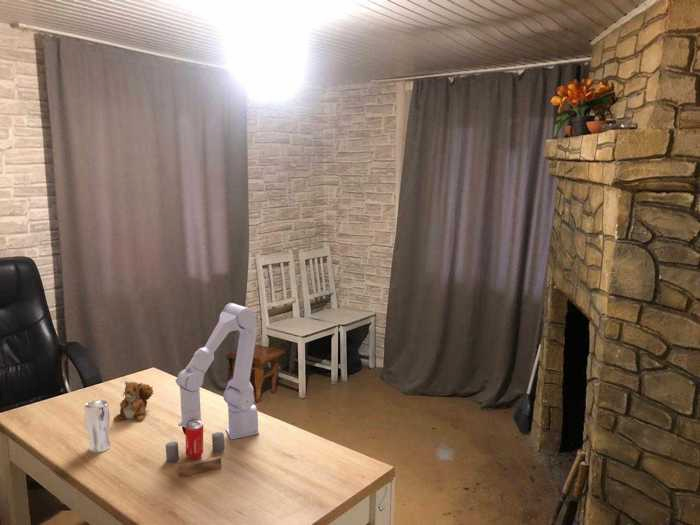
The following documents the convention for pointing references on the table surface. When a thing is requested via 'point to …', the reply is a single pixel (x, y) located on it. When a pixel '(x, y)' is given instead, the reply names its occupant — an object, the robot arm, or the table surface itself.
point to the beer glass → (97, 425)
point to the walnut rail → (199, 466)
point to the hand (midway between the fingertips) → (192, 447)
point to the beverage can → (194, 439)
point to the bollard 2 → (218, 442)
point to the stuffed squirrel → (134, 401)
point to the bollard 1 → (172, 452)
